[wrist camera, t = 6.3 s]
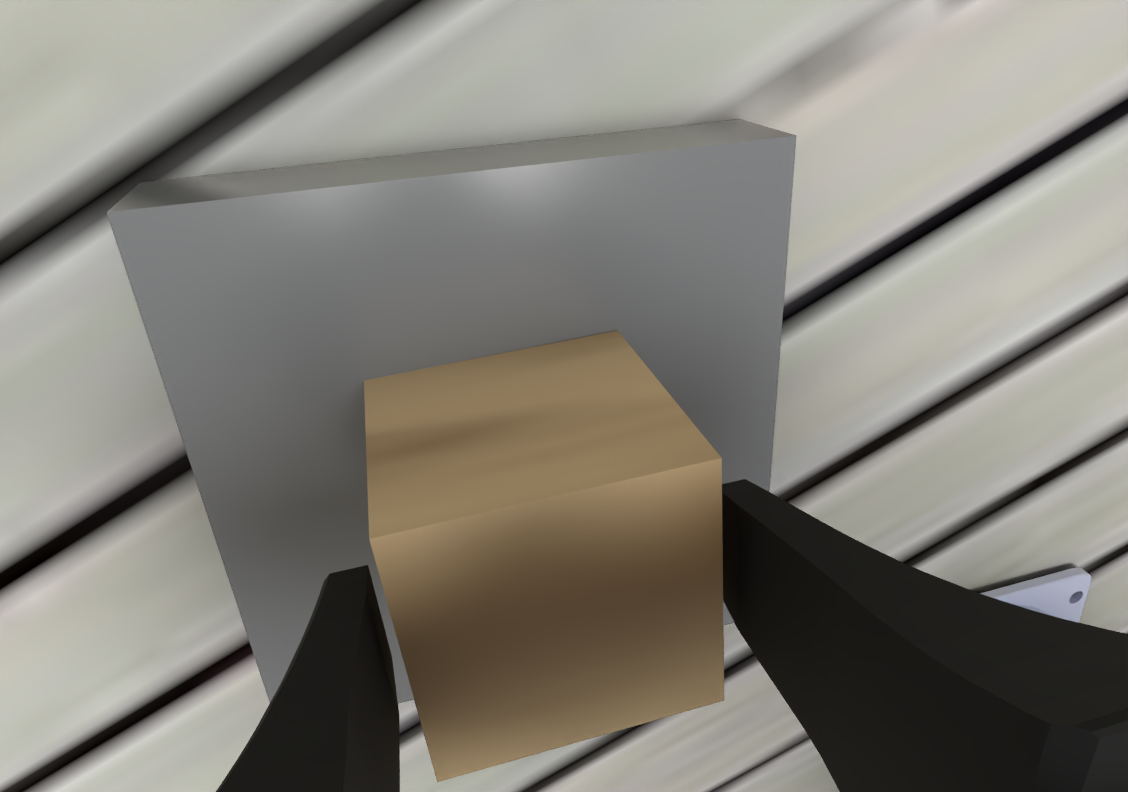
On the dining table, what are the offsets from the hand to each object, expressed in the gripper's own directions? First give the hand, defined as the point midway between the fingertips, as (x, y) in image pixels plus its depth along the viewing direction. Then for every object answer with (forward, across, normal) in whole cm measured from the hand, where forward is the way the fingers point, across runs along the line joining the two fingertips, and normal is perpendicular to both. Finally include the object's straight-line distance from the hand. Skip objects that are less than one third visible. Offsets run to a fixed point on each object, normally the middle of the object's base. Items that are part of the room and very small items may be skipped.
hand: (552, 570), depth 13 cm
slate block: (+7, 0, 0) cm, 7 cm away
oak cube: (+3, 0, 0) cm, 3 cm away
